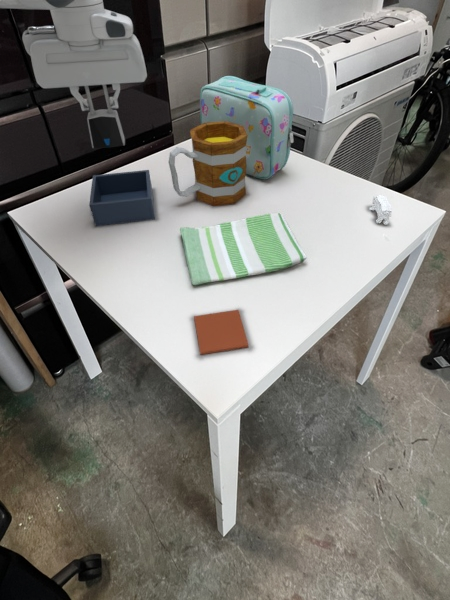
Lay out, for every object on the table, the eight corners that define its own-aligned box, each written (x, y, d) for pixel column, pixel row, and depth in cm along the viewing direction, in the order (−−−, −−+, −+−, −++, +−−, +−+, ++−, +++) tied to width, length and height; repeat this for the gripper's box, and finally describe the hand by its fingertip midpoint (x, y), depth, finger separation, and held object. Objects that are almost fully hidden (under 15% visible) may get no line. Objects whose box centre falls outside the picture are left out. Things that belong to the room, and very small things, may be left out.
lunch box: (295, 173, 101) (306, 86, 86) (272, 188, 96) (279, 98, 80) (222, 145, 114) (221, 65, 98) (199, 157, 109) (193, 74, 93)
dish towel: (179, 233, 83) (178, 223, 81) (279, 219, 86) (280, 208, 84) (192, 288, 71) (191, 277, 69) (308, 268, 74) (310, 258, 72)
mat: (200, 354, 60) (200, 352, 60) (194, 318, 66) (194, 316, 65) (248, 347, 61) (248, 345, 61) (238, 311, 67) (238, 309, 66)
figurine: (377, 225, 84) (383, 208, 81) (367, 206, 89) (372, 189, 86) (388, 225, 84) (394, 208, 81) (377, 206, 89) (383, 188, 86)
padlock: (124, 138, 81) (108, 58, 71) (124, 146, 79) (107, 65, 68) (93, 140, 81) (72, 60, 70) (92, 149, 78) (70, 67, 67)
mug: (228, 174, 101) (227, 116, 91) (257, 196, 93) (260, 135, 83) (163, 194, 95) (154, 135, 84) (187, 220, 87) (181, 158, 76)
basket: (95, 226, 86) (89, 205, 81) (98, 195, 95) (92, 175, 91) (155, 219, 87) (151, 198, 83) (152, 189, 96) (148, 169, 92)
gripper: (14, 31, 61) (44, 118, 71) (139, 25, 64) (152, 110, 74) (21, 23, 65) (49, 107, 75) (138, 17, 68) (150, 99, 78)
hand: (100, 108), depth 75 cm, fingers closed on padlock, 4 cm apart
